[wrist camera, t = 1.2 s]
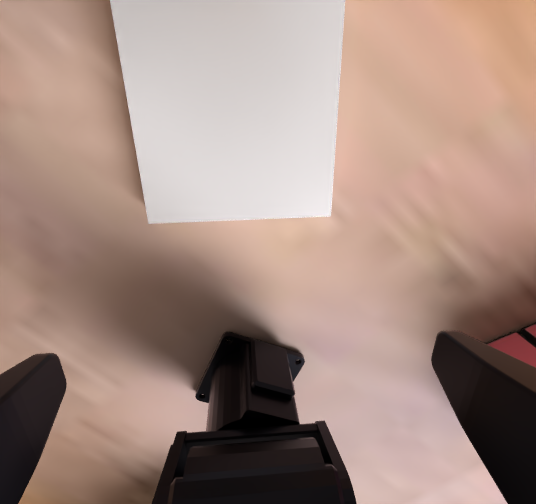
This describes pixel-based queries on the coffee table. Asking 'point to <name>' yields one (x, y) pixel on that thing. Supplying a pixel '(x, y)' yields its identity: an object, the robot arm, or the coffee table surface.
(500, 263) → the coffee table surface
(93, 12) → the coffee table surface
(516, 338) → the puzzle cube
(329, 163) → the plate
